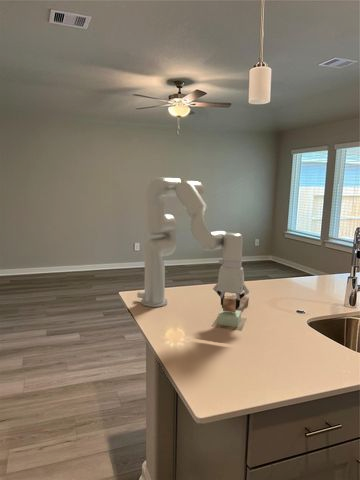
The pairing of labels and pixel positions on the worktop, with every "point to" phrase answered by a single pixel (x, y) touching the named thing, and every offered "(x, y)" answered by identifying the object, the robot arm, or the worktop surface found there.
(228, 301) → the cherry block
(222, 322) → the base block
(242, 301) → the brick
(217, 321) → the baseplate
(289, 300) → the worktop surface
